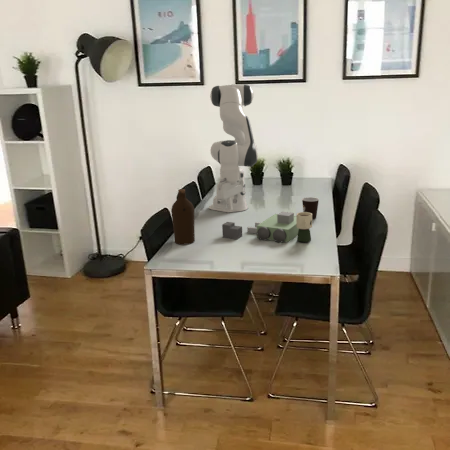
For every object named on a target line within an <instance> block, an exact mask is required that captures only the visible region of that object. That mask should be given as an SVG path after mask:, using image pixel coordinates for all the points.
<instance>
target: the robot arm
mask: <svg viewBox="0 0 450 450" xmlns="http://www.w3.org/2000/svg"><path fill="white" fill-rule="evenodd" d="M209 98H210V101H211V104H212V105H213V106H215V107H218V108H219V117H220V120H221V121H222V129H223V131H224V132H225V133H226V134H228V135H229V136H231V137H233V138H234V139H233V140H230V139H229V140H228V139H227V140H220V141H215V142H213V143H212V144H211V147H210V150H209V151H210V155H211V157H212V159H214V161H216V162H218V163H219V165H220V168H219V176H220V177H219V178H220V180H219V182H218V183H217V186H216V196H214V198H213V200H212V204H210V205H209V207H208V209H209V210H212V211H218V212H224V213H235V212H236V213H237V212H243V211H246V210H248V209H249V206H248V204H247V198H246V184H245V171H244V169H243V168H242V167H250V168H252V167H253V166H254V165H255V164H257V162H258V158H259V155H258V147H257V144H256V142H255V139H254V134H253V131H252V130H253V129H252V124H251V121H250V118H249V117H248V116H247V115H245V113H244V109H243V108H244V107H247V106H249V105H251V104H252V103H253V100H254V91H253V89H252V86H251V85H248V84H224V85H215V86H213V87H212V88H211V91H210V95H209ZM243 106H244V107H243Z"/></svg>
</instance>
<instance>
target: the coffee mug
mask: <svg viewBox="0 0 450 450" xmlns="http://www.w3.org/2000/svg"><path fill="white" fill-rule="evenodd" d="M319 200H320V199H319V197H315V196H314V197H313V196H311V197H309V196H307V197H304V198H302V199H301V202H302V212H309V213H312V220H315V218H316V219H317V215H318V208H319Z"/></svg>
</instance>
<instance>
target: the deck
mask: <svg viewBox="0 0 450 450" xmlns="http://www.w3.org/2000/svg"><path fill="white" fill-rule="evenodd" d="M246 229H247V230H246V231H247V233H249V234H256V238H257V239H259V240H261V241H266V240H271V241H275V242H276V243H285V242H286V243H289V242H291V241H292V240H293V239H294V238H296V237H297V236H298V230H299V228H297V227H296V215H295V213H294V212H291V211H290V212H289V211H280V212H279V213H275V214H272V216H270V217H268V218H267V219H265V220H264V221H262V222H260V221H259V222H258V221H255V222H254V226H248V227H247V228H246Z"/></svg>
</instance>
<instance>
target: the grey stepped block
mask: <svg viewBox="0 0 450 450" xmlns="http://www.w3.org/2000/svg"><path fill="white" fill-rule="evenodd" d="M221 226H222V227H221V228H222V238H225V239H233V240H239V239H240V238H242V237H243V226H239V225H235V222H232V221H226V222H224V223H223V224H222V225H221Z"/></svg>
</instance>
